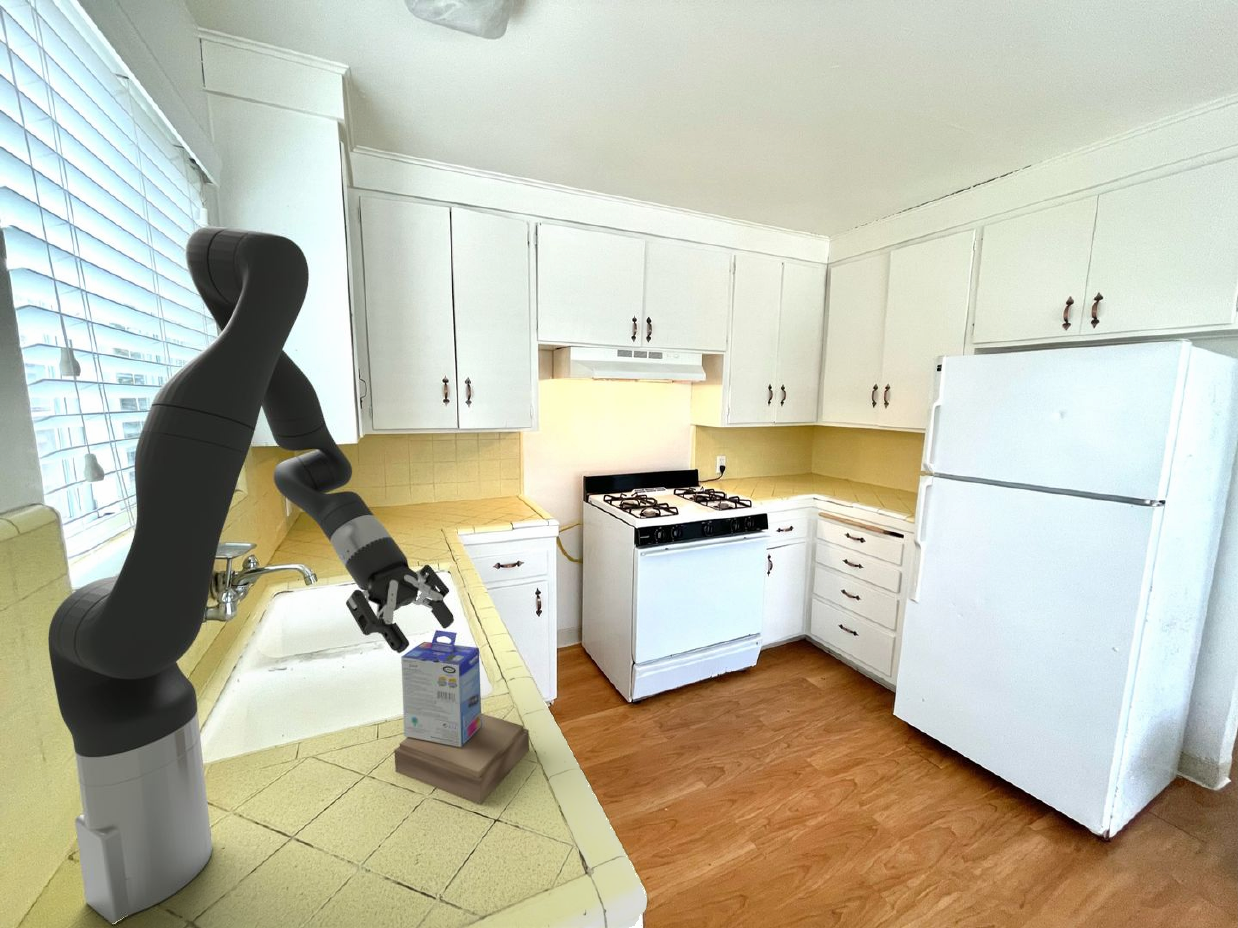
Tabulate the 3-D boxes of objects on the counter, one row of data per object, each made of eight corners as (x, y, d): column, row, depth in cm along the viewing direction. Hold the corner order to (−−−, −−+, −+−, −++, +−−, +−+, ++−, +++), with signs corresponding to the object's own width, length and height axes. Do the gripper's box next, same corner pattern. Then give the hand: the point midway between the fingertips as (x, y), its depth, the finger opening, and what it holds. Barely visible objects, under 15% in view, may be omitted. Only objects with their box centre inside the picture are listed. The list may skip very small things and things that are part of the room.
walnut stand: (480, 804, 61) (479, 775, 61) (395, 771, 67) (393, 744, 67) (529, 749, 71) (528, 724, 71) (451, 725, 77) (450, 701, 77)
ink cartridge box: (484, 724, 71) (480, 631, 70) (463, 749, 66) (458, 649, 64) (427, 714, 74) (422, 624, 72) (402, 737, 68) (396, 641, 67)
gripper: (335, 548, 66) (400, 643, 62) (417, 526, 79) (475, 604, 75) (313, 580, 68) (374, 673, 65) (395, 554, 81) (450, 631, 78)
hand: (428, 636), depth 70 cm, fingers open, 8 cm apart
